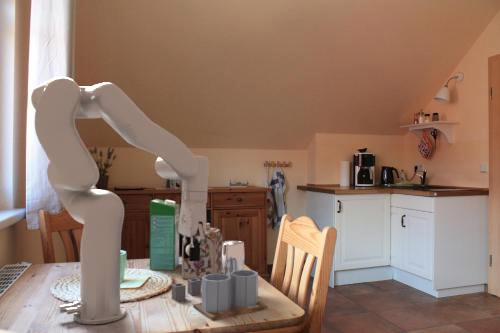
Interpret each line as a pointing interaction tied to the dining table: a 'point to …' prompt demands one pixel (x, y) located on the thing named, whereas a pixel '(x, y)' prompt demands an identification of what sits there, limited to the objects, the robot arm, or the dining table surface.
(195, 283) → the stand
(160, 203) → the milk carton
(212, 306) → the tubes
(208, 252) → the decorative jar
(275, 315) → the dining table surface
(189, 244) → the ivory ball
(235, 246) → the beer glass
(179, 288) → the stand
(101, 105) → the robot arm
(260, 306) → the rack board
